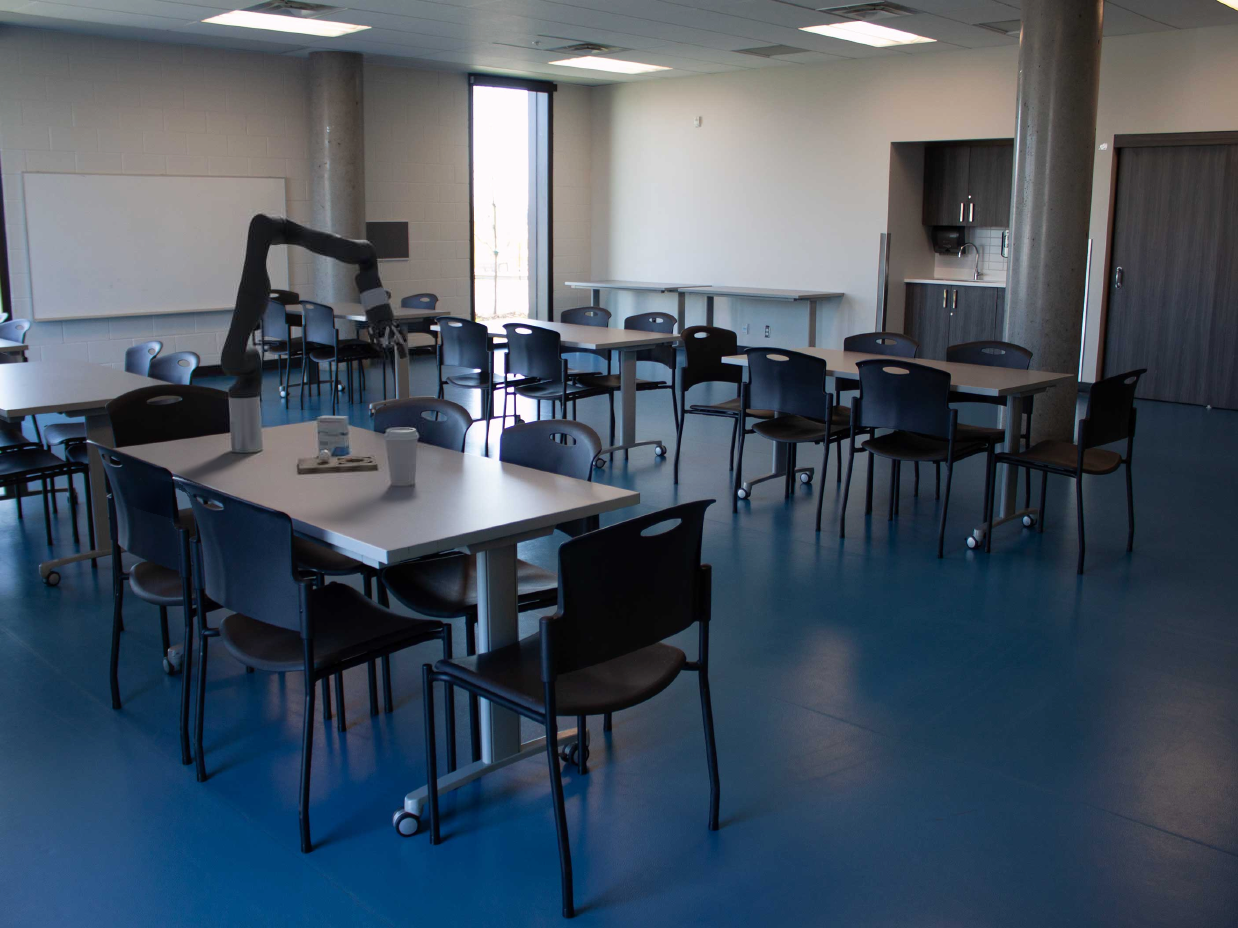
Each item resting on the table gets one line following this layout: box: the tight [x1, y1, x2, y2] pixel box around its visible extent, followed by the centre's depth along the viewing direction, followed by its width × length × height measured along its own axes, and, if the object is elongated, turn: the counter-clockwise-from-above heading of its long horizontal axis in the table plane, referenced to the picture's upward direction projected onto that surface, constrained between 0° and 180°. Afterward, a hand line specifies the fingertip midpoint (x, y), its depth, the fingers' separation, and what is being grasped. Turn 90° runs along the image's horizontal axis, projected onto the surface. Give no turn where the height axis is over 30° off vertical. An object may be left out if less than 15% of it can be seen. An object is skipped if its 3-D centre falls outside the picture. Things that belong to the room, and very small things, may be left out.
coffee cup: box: [383, 426, 420, 487], centre depth 297 cm, size 10×10×15 cm
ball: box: [318, 450, 332, 462], centre depth 319 cm, size 4×4×4 cm
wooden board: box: [297, 454, 379, 474], centre depth 320 cm, size 22×15×2 cm
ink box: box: [316, 415, 350, 456], centre depth 338 cm, size 8×5×12 cm, turn 84°
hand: (395, 359), depth 315 cm, fingers open, 8 cm apart
